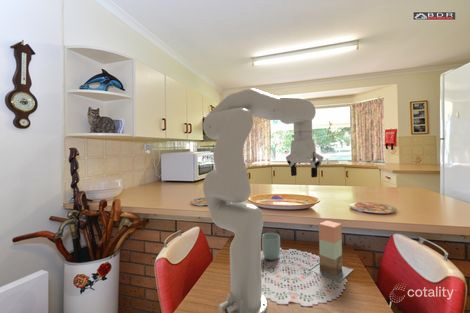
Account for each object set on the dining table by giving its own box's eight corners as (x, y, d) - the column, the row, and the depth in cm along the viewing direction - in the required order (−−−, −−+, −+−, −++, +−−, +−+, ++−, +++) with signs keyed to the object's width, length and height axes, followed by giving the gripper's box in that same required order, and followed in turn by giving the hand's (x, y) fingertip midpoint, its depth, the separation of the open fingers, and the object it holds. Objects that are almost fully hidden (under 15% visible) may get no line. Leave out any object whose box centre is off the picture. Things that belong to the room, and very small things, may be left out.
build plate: (339, 284, 77) (339, 281, 77) (308, 271, 86) (308, 268, 86) (353, 272, 85) (353, 269, 85) (323, 261, 94) (323, 258, 94)
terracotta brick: (334, 243, 81) (334, 227, 81) (319, 239, 86) (318, 223, 86) (341, 239, 85) (341, 223, 85) (326, 235, 90) (326, 220, 90)
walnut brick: (335, 275, 82) (334, 259, 82) (319, 269, 86) (319, 254, 86) (342, 269, 86) (341, 254, 86) (327, 264, 90) (326, 249, 90)
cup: (280, 263, 93) (279, 239, 93) (261, 261, 95) (261, 238, 95) (280, 254, 101) (279, 233, 101) (263, 253, 103) (262, 232, 102)
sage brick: (334, 259, 82) (334, 243, 81) (319, 254, 86) (319, 239, 86) (341, 254, 86) (341, 239, 85) (326, 249, 90) (326, 235, 90)
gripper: (281, 137, 98) (281, 175, 99) (317, 134, 85) (318, 178, 86) (290, 137, 103) (291, 174, 104) (326, 135, 90) (327, 177, 91)
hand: (303, 176), depth 95 cm, fingers open, 9 cm apart
